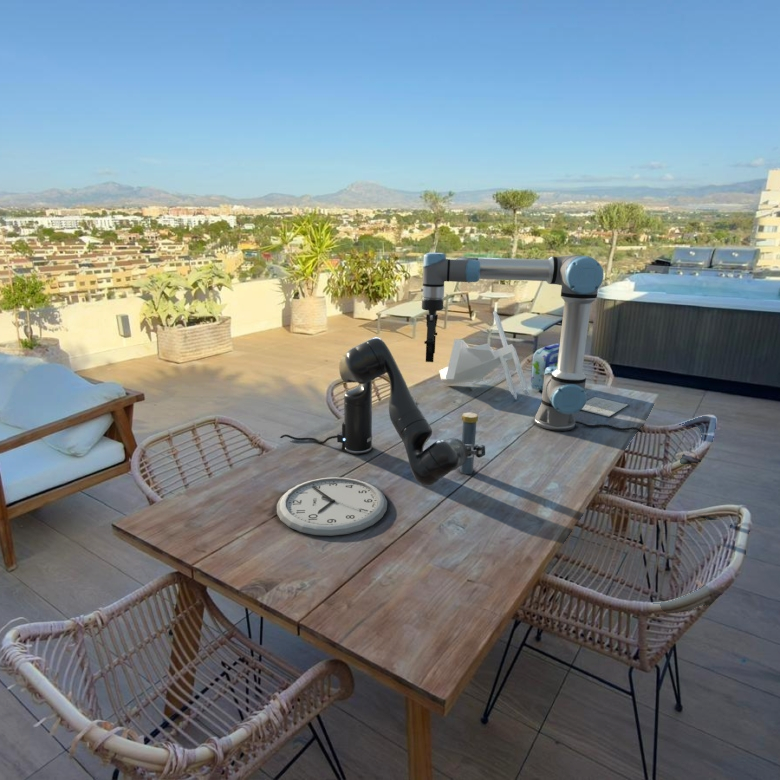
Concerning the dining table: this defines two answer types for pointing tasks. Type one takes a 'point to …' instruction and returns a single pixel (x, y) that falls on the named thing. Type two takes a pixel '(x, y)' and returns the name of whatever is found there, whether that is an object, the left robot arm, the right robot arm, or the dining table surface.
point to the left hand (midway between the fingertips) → (461, 448)
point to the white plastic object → (482, 362)
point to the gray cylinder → (468, 438)
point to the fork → (415, 399)
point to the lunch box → (543, 364)
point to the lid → (470, 417)
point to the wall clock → (331, 506)
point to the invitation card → (603, 406)
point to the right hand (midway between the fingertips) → (430, 357)
